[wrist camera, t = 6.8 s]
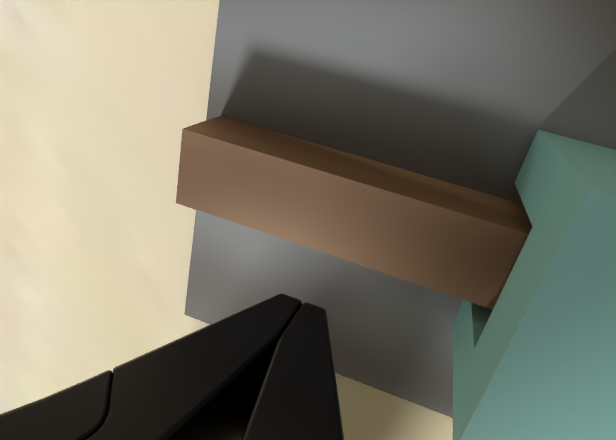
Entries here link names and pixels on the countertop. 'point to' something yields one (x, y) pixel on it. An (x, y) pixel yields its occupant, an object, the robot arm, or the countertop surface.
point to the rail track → (383, 163)
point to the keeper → (548, 310)
